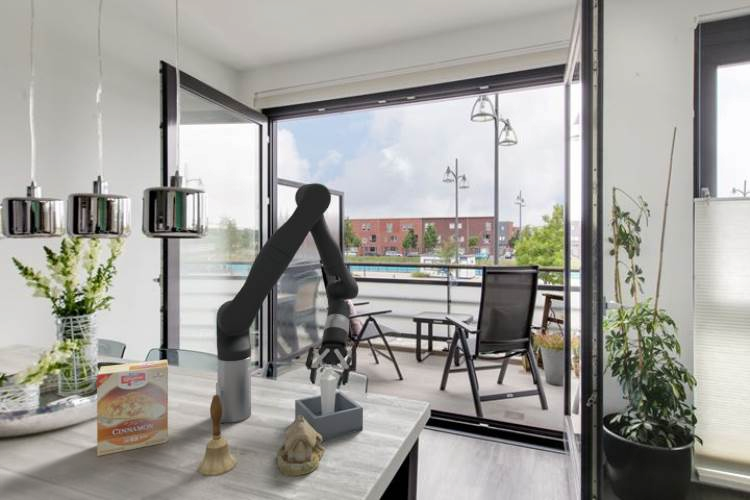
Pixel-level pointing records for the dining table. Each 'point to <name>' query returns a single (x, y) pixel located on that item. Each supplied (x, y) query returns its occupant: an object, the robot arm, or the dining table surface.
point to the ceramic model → (300, 449)
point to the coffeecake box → (132, 406)
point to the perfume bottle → (328, 391)
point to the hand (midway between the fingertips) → (328, 383)
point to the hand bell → (216, 446)
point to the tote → (331, 415)
